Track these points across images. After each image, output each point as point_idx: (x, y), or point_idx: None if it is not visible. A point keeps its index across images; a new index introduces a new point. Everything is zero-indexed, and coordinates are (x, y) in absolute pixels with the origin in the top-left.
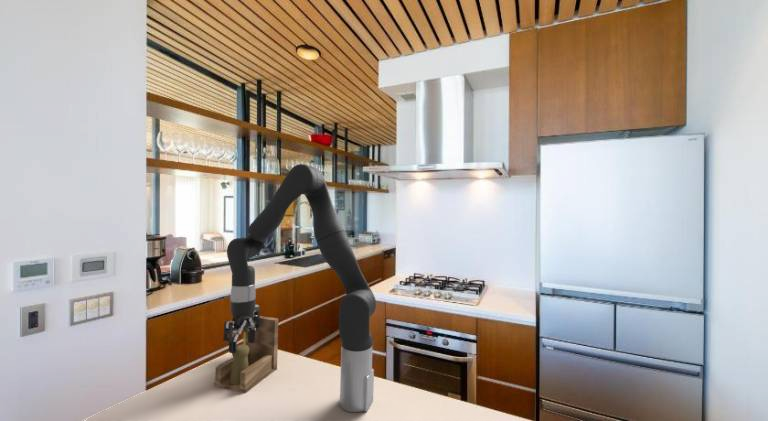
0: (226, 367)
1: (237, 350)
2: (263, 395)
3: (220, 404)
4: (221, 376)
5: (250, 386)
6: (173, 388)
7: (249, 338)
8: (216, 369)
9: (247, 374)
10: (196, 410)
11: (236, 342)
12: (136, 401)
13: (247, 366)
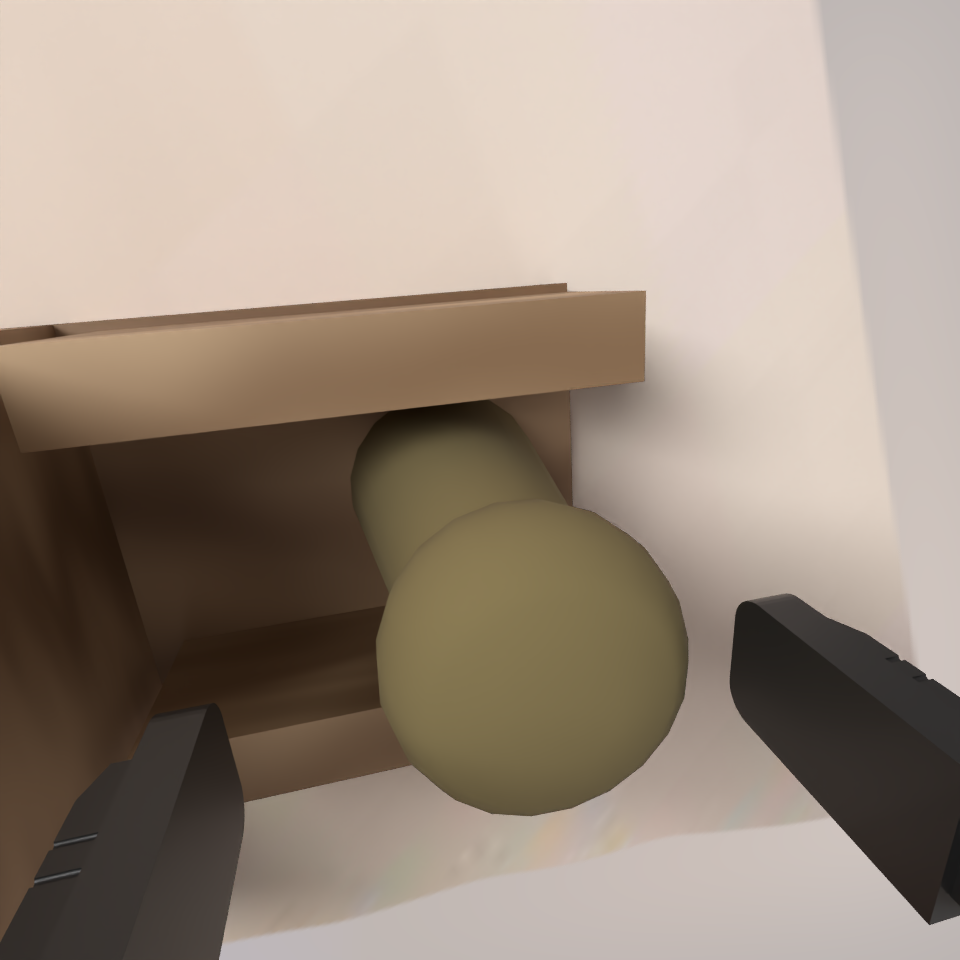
0: None
1: (684, 640)
2: (525, 63)
3: (749, 350)
4: None
5: (496, 289)
6: (678, 797)
7: (219, 872)
8: None
9: (593, 294)
10: (841, 447)
11: (940, 743)
12: None
13: (444, 451)
